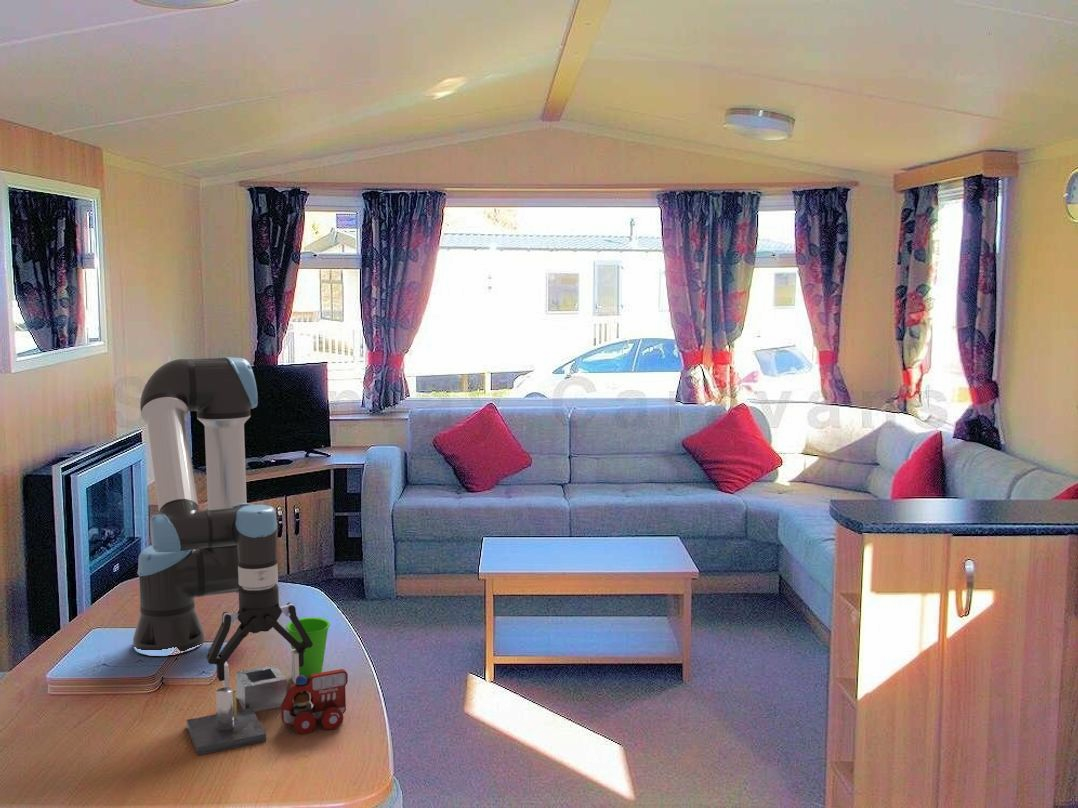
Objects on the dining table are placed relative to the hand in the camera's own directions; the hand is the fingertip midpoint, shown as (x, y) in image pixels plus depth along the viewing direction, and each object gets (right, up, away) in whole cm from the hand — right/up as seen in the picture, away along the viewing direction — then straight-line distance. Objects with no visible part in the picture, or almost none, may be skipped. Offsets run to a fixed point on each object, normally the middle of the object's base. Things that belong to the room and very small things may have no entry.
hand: (261, 689), depth 202 cm
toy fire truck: (+12, -5, -8) cm, 16 cm away
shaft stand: (-3, -5, -13) cm, 14 cm away
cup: (+6, -1, +14) cm, 16 cm away
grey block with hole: (0, -3, +1) cm, 3 cm away
